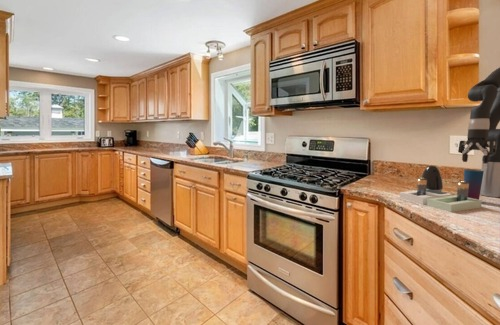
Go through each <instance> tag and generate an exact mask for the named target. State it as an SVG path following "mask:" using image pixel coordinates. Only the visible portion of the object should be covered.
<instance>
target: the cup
mask: <svg viewBox="0 0 500 325" xmlns="http://www.w3.org/2000/svg"><path fill="white" fill-rule="evenodd" d="M483 173H484V171H483V170H482V169H475V168H465V169H463V181H466V182H467V183H469V189H468V198H473V199H478V200H480V197H481V194H480V191H481V185H482V179H483Z"/></svg>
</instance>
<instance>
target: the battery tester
mask: <svg viewBox="0 0 500 325" xmlns="http://www.w3.org/2000/svg"><path fill="white" fill-rule="evenodd" d="M446 196H453V194H452V193H447V192H445V191H436V190H431V189H426V195H422V196H417V189H416V190H407V191H400V192H399V199H401V200H405V201H408V202H411V203H412V202H413V203H415V204H420V205H427V199H431V198H438V197H446Z"/></svg>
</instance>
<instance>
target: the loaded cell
mask: <svg viewBox="0 0 500 325" xmlns="http://www.w3.org/2000/svg"><path fill="white" fill-rule="evenodd" d="M468 189H469V183H467V182H466V181H464V180H461V181H458V182H457V189H456V190H457V193H456V195H457V202H458V201H465V200H468Z"/></svg>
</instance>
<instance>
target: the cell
mask: <svg viewBox="0 0 500 325" xmlns="http://www.w3.org/2000/svg"><path fill="white" fill-rule="evenodd" d="M426 187H427V179H424V178H421V177H420V178H417V187H416V188H417V189H416V190H417V196H422V195H426Z"/></svg>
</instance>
